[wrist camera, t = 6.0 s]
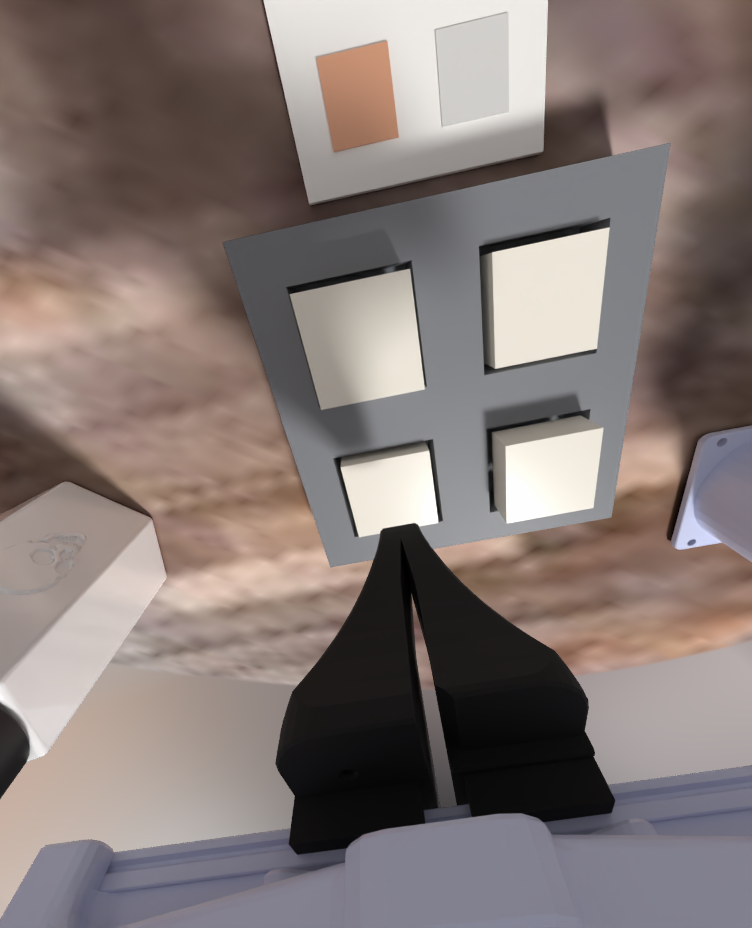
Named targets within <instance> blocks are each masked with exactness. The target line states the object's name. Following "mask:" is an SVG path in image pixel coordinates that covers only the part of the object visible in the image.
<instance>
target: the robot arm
mask: <svg viewBox="0 0 752 928" xmlns="http://www.w3.org/2000/svg"><path fill="white" fill-rule="evenodd" d="M716 543H724V544H725V545H727V546H728V547H730V548H731V549H733V550H734V551H736V552H737V553H739V554H740V555H742V556H743V557H745V558H746V559H748V560H749V561H751V562H752V425H751V426H746V427H740V428H735V429H730V430H724V431H719V432H713V433H709V434H706V435H704V436H702V437H701V438H700V439H699V441H698V443H697V447H696V450H695V454H694V458H693V462H692V465H691V469H690V473H689V477H688V480H687V484H686V488H685V492H684V495H683V499H682V503H681V506H680V510H679V514H678V518H677V521H676V525H675V529H674V533H673V536H672V540H671V544H672V546H674V547H675V548H676V549H687V548H693V547H699V546H704V545H710V544H716ZM411 593H412V596H411ZM412 597H413V600H414V604H415V607H416V611H417V615H418V618H419V622H420V626H421V629H422V633H423V636H424V640H425V644H426V647H427V651H428V655H429V660H430V665H431V670H432V675H433V680H434V686H435V691H436V696H437V701H438V707H439V712H440V717H441V723H442V728H443V733H444V739H445V744H446V749H447V755H448V760H449V765H450V770H451V776H452V780H453V786H454V792H455V797H456V802H457V806H451V807H443V808H441V807H440V801H439V795H438V789H437V783H436V777H435V771H434V765H433V759H432V753H431V747H430V741H429V735H428V728H427V722H426V716H425V711H424V704H423V698H422V691H421V685H420V679H419V673H418V666H417V659H416V650H415V636H414V623H413V609H412ZM588 708H589V706H588V698H587V697H586V695H585V693H584V691H583V689H582V687H581V686H580V684H579V682H578V681H577V680H576V678H575V677H574V675H573V674H572V672H571V671H570V670H569V668H568V667H567V666H566V664H565V663H564V662H563V660H562V659H561V658H560V657H559V655H558V654H557V653H556V652H555V651H554V650H553V649H551V648H549V647H547V646H546V645H544V644H542V643H541V642H539V641H537V640H536V639H534V638H533V637H531V636H529V635H528V634H526V633H525V632H523V631H522V630H520V629H519V628H517V627H516V626H514V625H513V624H511V623H510V622H509V621H507V620H506V619H505V618H503V617H502V616H501V615H499V614H498V613H497V612H495V611H494V610H493V609H492V608H490V607H489V606H488V605H486V604H485V603H484V602H483V601H482V600H480V599H479V598H478V597H477V596H476V595H475V594H473V593H472V592H471V591H470V590H469V589H468V588H467V587H466V586H465V585H464V584H463V583H462V582H461V581H460V580H459V579H458V578H457V577H456V576H455V575H454V574H453V573H452V572H451V571H450V569H449V568H448V567H447V566H446V565H445V564H444V563H443V561H442V560H441V559H440V558H439V556H438V555H437V554H436V553H435V551H434V550H433V549H432V547H431V546H430V544H429V543H428V541H427V540H426V539H425V537H424V535H423V534H422V532H421V530H420V528H419V525H418V524H416V523H411V524H406V525H400V526H394V527H389V528H383V529H382V530H381V531H380V538H379V543H378V547H377V551H376V554H375V557H374V560H373V563H372V566H371V569H370V572H369V574H368V577H367V579H366V582H365V584H364V587H363V589H362V591H361V593H360V595H359V597H358V599H357V601H356V603H355V605H354V607H353V609H352V611H351V613H350V614H349V616H348V618H347V619H346V621H345V623H344V625H343V626H342V628H341V629H340V631H339V633H338V634H337V636H336V637H335V639H334V640H333V641H332V643H331V644H330V645H329V647H328V648H327V650H326V651H325V652H324V654H323V655H322V657H321V658H320V659H319V661H318V662H317V663H316V664H315V666H314V667H313V668H312V669H311V670H310V672H309V673H308V674H307V675H306V676H305V678H304V679H303V680H302V681H301V682H300V683H299V685H298V686H297V687H296V688H295V689H294V691H293V692H292V694H291V698H290V701H289V704H288V707H287V710H286V713H285V717H284V720H283V724H282V728H281V733H280V740H279V745H278V751H277V757H276V766H277V769H278V771H279V773H280V774H281V776H282V777H283V779H284V780H285V782H286V783H287V785H288V786H289V788H290V789H291V791H292V792H293V794H294V795H295V800H294V807H293V816H292V822H291V828H289V829H282V830H275V831H268V832H260V833H253V834H245V835H238V836H231V837H223V838H216V839H209V840H201V841H195V842H187V843H180V844H172V845H165V846H158V847H150V848H143V849H136V850H128V851H121V852H113V849H112V848H111V847H109V846H108V845H107V844H105V843H103V842H101V841H97V840H79V841H73V842H65V843H58V844H51V845H46V846H45V847H43V848H41V850H40V852H39V853H38V855H37V857H36V859H35V860H34V862H33V864H32V865H31V867H30V869H29V871H28V872H27V874H26V876H25V878H24V879H23V881H22V883H21V884H20V886H19V888H18V890H17V891H16V893H15V895H14V897H13V899H12V900H11V902H10V904H9V905H8V907H7V909H6V910H5V912H4V914H3V916H2V917H1V919H0V928H752V765H751V766H744V767H736V768H730V769H722V770H715V771H707V772H699V773H692V774H685V775H677V776H671V777H664V778H656V779H648V780H641V781H634V782H626V783H619V784H612V785H608V784H607V783H606V781H605V779H604V777H603V775H602V773H601V771H600V769H599V767H598V765H597V763H596V761H595V759H594V757H593V756H594V755H595V752H594V748H593V746H592V744H591V742H590V740H589V738H588V736H587V735H586V733H585V726H586V720H587V714H588Z"/></svg>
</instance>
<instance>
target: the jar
mask: <svg viewBox="0 0 752 928" xmlns="http://www.w3.org/2000/svg"><path fill="white" fill-rule="evenodd" d="M166 578H167V574H166V571H165V567H164V563H163V559H162V555H161V551H160V547H159V544H158V540H157V536H156V532H155V528H154V524H153V520H152V518H150V517H148V516H146V515H144V514H141V513H139V512H137V511H135V510H132V509H130V508H128V507H125V506H123V505H121V504H119V503H116V502H114V501H112V500H110V499H107V498H105V497H103V496H101V495H98V494H96V493H94V492H91V491H89V490H87V489H85V488H82V487H80V486H78V485H76V484H73V483H71V482H62V483H60V484H58V485H56V486H54V487H52V488H50V489H48V490H46V491H45V492H43V493H41V494H39V495H37V496H35V497H33V498H31V499H29V500H27V501H25V502H23V503H21V504H19V505H17V506H15V507H13V508H12V509H10V510H8V511H6V512H4V513H2V514H0V799H1V797H2V796H3V794H4V793H5V792H6V790H7V789H8V787H9V786H10V784H11V783H12V782H13V780H14V779H15V777H16V776H17V775H18V773H19V772H20V771H21V769H22V768H23V766H24V765H25V763H26V762H28V761H31V760H34V759H36V758H40V757H42V756H44V755H45V754H46V753H47V752H48V751H49V750H50V748H51V747H52V745H53V744H54V743H55V741H56V740H57V738H58V737H59V735H60V734H61V732H62V731H63V729H64V728H65V726H66V725H67V723H68V722H69V721H70V719H71V718H72V716H73V714H74V713H75V712H76V710H77V709H78V707H79V706H80V704H81V703H82V701H83V700H84V699H85V697H86V696H87V694H88V693H89V691H90V690H91V688H92V687H93V685H94V684H95V682H96V681H97V679H98V678H99V676H100V675H101V674H102V672H103V671H104V669H105V668H106V666H107V665H108V663H109V662H110V660H111V659H112V657H113V656H114V655H115V653H116V652H117V650H118V649H119V647H120V646H121V644H122V643H123V641H124V640H125V638H126V637H127V635H128V634H129V633H130V631H131V630H132V628H133V627H134V625H135V624H136V622H137V621H138V619H139V618H140V616H141V615H142V613H143V612H144V611H145V609H146V608H147V606H148V605H149V603H150V602H151V600H152V599H153V597H154V596H155V594H156V593H157V591H158V590H159V589H160V587H161V586H162V584H163V583H164V581H165V580H166Z"/></svg>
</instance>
